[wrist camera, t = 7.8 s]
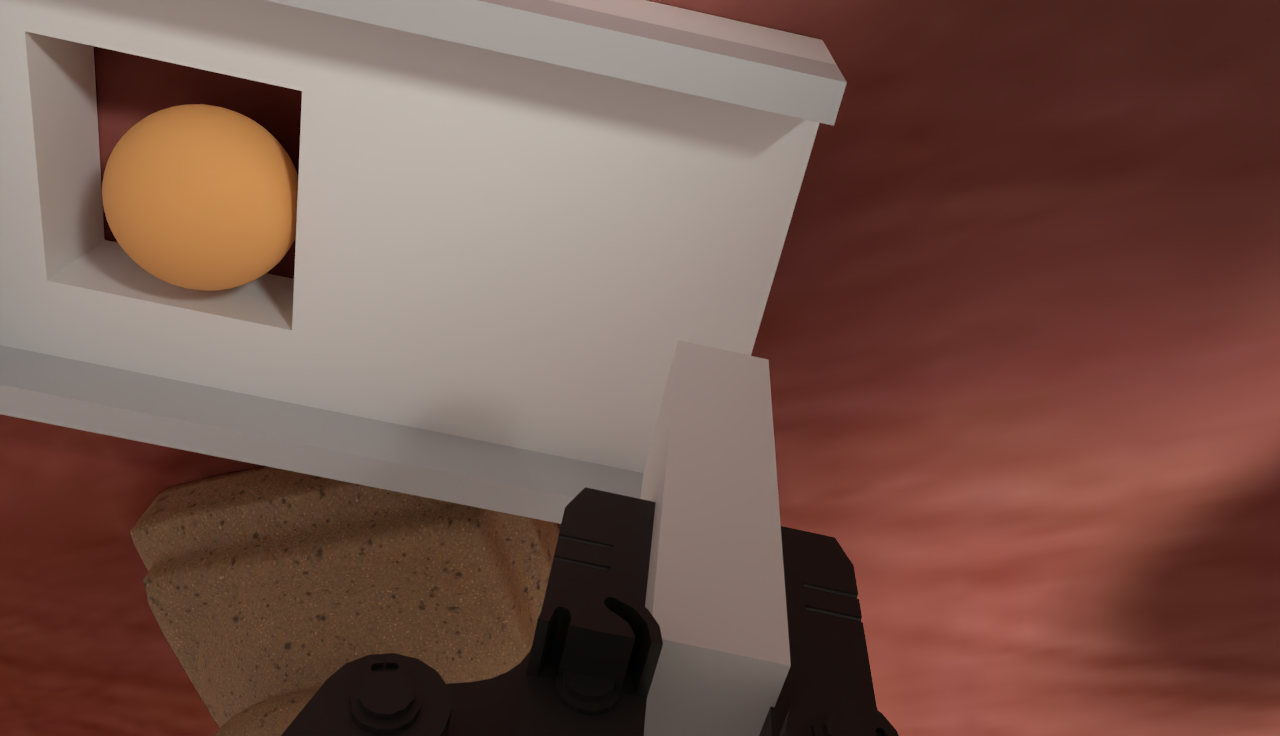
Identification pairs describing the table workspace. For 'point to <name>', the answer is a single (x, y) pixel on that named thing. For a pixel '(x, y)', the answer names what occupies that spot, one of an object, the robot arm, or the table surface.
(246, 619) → the candle holder
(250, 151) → the ball
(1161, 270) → the table surface
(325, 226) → the tray
